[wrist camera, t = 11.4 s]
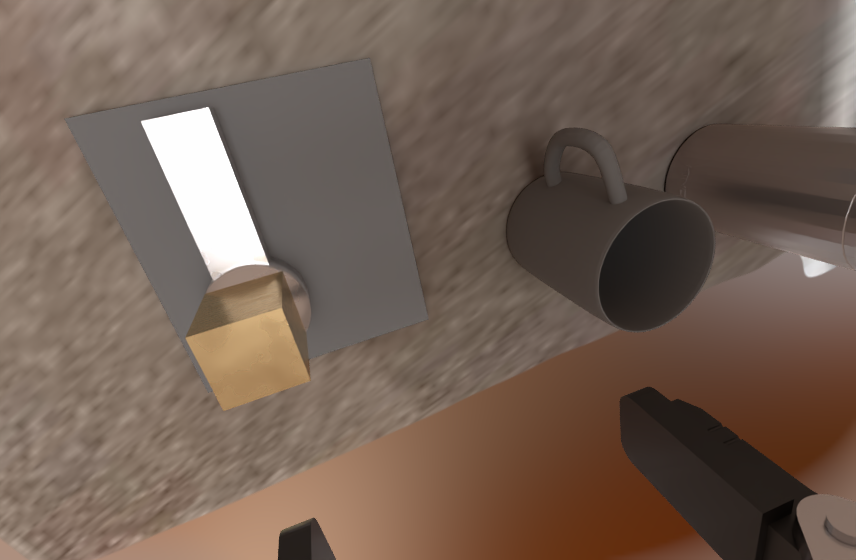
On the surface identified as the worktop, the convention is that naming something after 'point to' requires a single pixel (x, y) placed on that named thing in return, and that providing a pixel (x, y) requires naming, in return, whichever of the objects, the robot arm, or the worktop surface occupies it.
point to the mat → (276, 198)
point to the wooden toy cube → (250, 340)
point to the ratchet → (217, 203)
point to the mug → (610, 239)
